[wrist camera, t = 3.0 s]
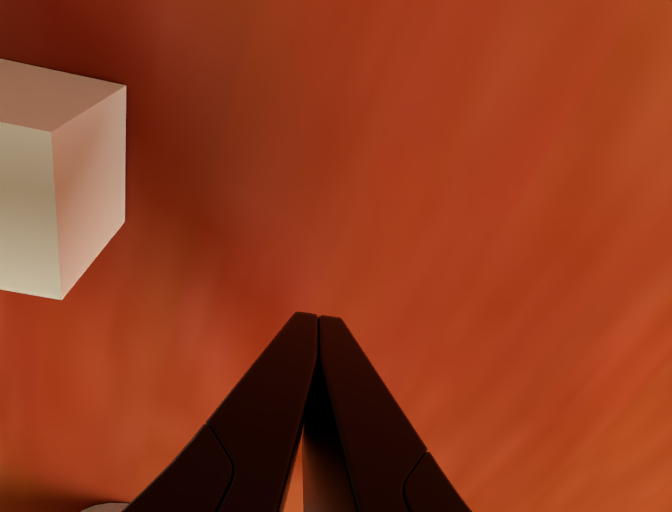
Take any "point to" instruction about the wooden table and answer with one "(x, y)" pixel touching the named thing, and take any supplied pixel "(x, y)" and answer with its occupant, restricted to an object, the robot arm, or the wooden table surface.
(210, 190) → the wooden table surface
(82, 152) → the t block
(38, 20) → the wooden table surface
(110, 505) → the house plant
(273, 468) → the robot arm
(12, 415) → the wooden table surface
